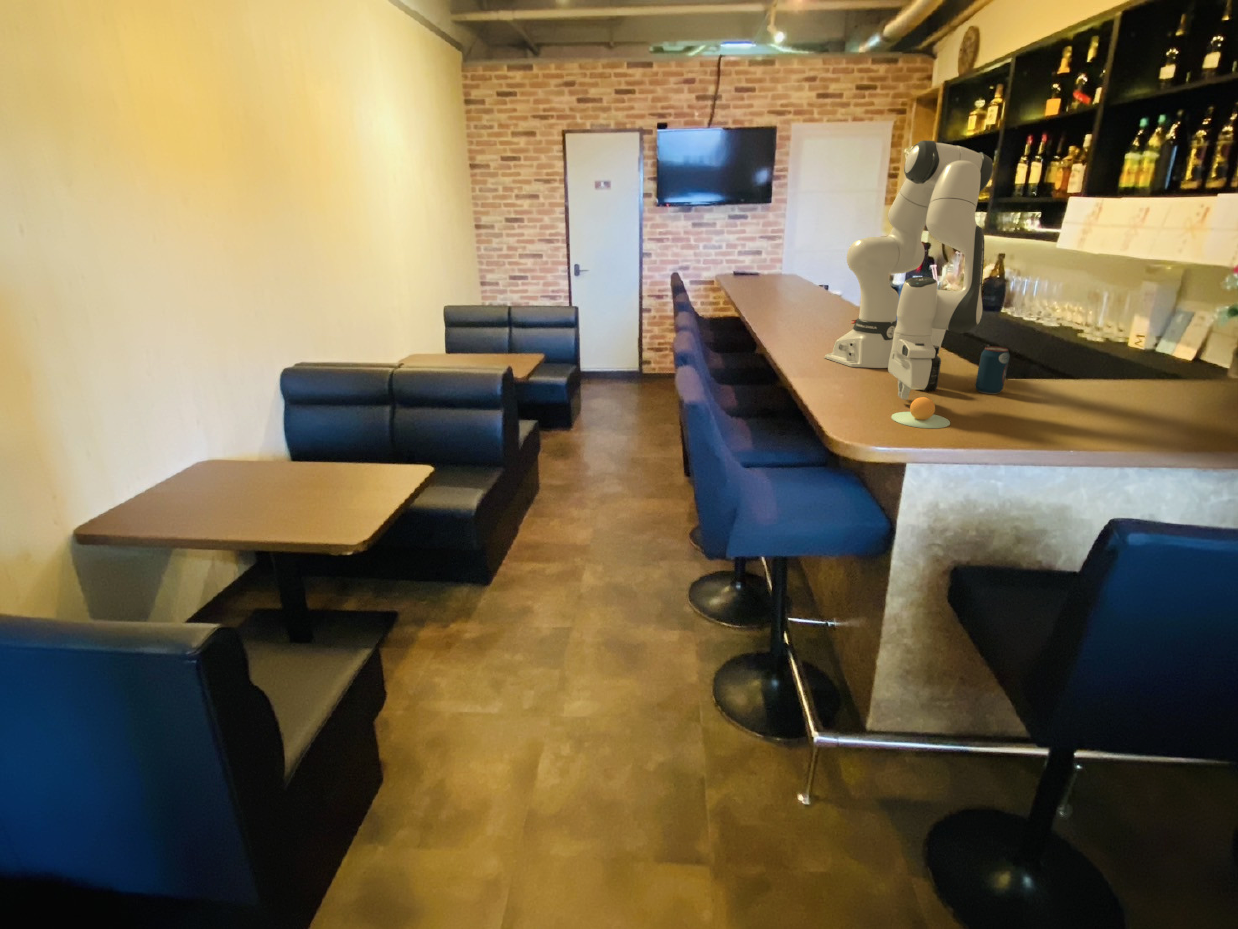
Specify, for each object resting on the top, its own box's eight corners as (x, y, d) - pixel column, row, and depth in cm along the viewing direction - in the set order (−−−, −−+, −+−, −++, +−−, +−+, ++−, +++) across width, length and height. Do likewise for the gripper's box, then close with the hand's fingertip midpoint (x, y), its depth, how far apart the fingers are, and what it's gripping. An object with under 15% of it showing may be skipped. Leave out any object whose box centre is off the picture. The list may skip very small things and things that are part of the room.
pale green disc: (879, 417, 168) (879, 416, 168) (914, 409, 175) (914, 408, 175) (926, 431, 158) (926, 430, 158) (961, 423, 164) (961, 422, 164)
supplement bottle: (932, 386, 197) (939, 344, 193) (940, 392, 191) (947, 348, 187) (907, 385, 198) (913, 343, 194) (914, 391, 192) (921, 348, 187)
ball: (905, 420, 166) (904, 397, 167) (919, 422, 169) (919, 400, 170) (925, 417, 162) (925, 393, 162) (940, 419, 165) (939, 396, 165)
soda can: (1007, 394, 189) (1016, 351, 184) (981, 394, 189) (989, 350, 185) (994, 388, 195) (1003, 345, 191) (969, 388, 195) (977, 345, 191)
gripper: (886, 336, 184) (878, 387, 189) (911, 352, 165) (902, 408, 170) (910, 337, 183) (902, 388, 188) (938, 353, 164) (929, 409, 169)
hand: (902, 398), depth 179 cm, fingers closed
